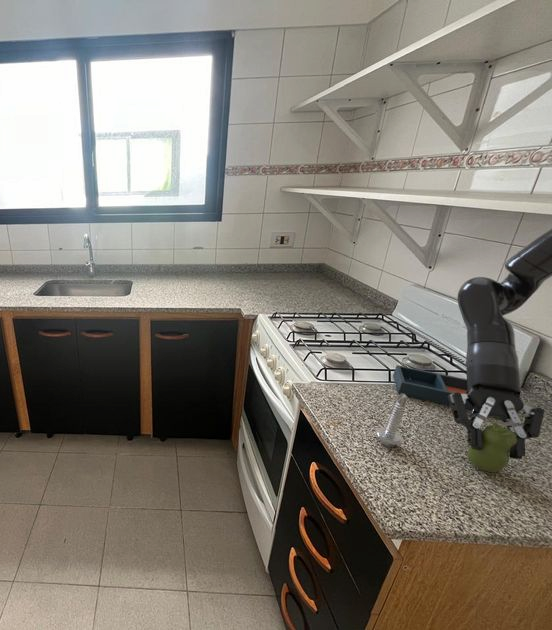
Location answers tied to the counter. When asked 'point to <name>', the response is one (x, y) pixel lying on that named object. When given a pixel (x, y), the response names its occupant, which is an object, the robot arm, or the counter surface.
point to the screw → (393, 425)
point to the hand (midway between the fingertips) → (496, 453)
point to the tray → (429, 385)
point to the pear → (493, 449)
